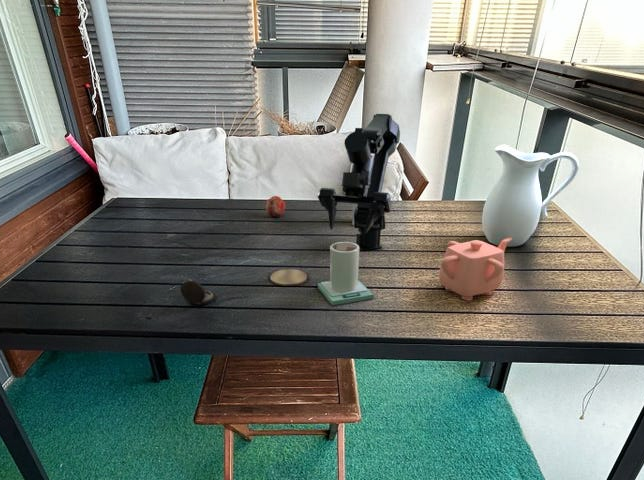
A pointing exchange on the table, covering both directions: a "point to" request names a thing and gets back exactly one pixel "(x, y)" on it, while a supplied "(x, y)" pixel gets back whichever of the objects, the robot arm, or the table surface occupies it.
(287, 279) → the coaster
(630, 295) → the table surface
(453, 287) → the teapot
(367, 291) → the scale
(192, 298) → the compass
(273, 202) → the pomegranate
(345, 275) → the cup
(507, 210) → the pitcher
